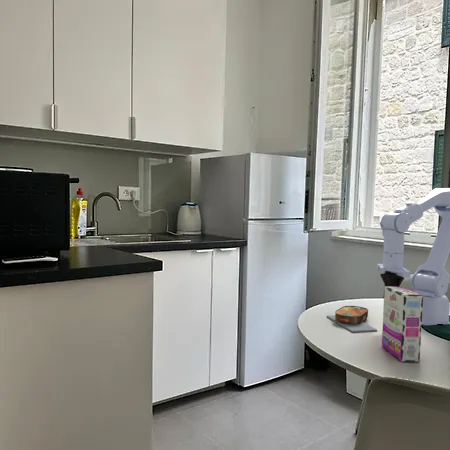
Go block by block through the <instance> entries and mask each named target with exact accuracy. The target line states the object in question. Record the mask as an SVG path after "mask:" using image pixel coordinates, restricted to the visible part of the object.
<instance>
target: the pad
mask: <svg viewBox="0 0 450 450" xmlns="http://www.w3.org/2000/svg"><path fill="white" fill-rule="evenodd" d="M326 318H327V319H329V320H331V321H332V322H334V323H335V324H337V325H339V326H341V327H342V328H344V329H345V330H348V331H349V332H350V333H356V334H357V333H370V332H371V333H372V332H378V329H377V328H375V327H374V326H372V325H370V324H368V323H366V322H364V321H362V322H361V323H359V324H349V323H344V322H338V321H337V320H336V319H335V314H331V315H329V314H327V315H326Z"/></svg>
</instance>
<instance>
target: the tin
mask: <svg viewBox="0 0 450 450" xmlns="http://www.w3.org/2000/svg"><path fill="white" fill-rule="evenodd" d="M334 313H335V314H334V315H335V319H336V320H337V321H338V322H344V323H349V324H359V323H361V322H364V321H365V320H366V319H368V316H369V309H368V308H366V307H364V306H357V305H345V306H344V305H343V306H342V307H340V308H339V309H337V310H335V311H334Z"/></svg>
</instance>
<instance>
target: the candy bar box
mask: <svg viewBox="0 0 450 450" xmlns="http://www.w3.org/2000/svg"><path fill="white" fill-rule="evenodd" d="M383 294H384V296H383V312H382V313H383V314H382V315H383V316H382V333H381V336H382V337H381V348H382V349H384V351H386V352H387V353H389V354H391V355H392V356H393V357H394V358H395V359H397V360H398V361H400V362H401V363H419V362H420V361H421V346H422V345H421V342H422V340H421V339H422V325H423V324H422V309H423V295H421V294H418V293H416V292H415V291H414V290H410V289H408V288H405V287H403V286H399V287H396V286H388V287H385V286H384V293H383Z"/></svg>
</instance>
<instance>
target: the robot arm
mask: <svg viewBox="0 0 450 450" xmlns="http://www.w3.org/2000/svg"><path fill="white" fill-rule="evenodd" d="M404 204H405V205H403V206H401V207H400V208H396V209H395V211H393V212H388V213H387V212H386V213H385V214H384V215H383V216H382V217H381V219H380V222H379V227H380V228H381V233H382V237H383V252H382V263H376V265H375V267H376V268H375V269H376V271H381V272H383V273H380V278H381V279H382V281H383V284H384V288H385V287H388V286H396V287H401V284H402V283H403V281H404V280H405V279H410V286H411V287H412V289H413V291H414V292H416V293H418V294H421V295H423V309H422V325H423V326H438V325H437V324H443V325H450V300H449V298H448V297H447V295H446V293H447V291H448V289H449V280H450V274H449V272H448V271H447V270H446V269H445V266H446V265H447V260H448V258H449V256H450V187H443V188H441V187H435V188H434V189H432V190H430V191H429V194H427V195H426V196H424V197H423V198H422V199H419V201H417V202H414V201H407V202H405V203H404ZM432 208H434V210H435V212H436V213H437V215H438V216H440V218H441V223H440V225H439V227H438V231H437V233H436V235H435V238H434V242H433V243H432V247H431V249H430V252H429V254H428V257H427V260H426V262H425V263H423V264H421V265H419V266H418V267H417V269H416V271H415V272H414V273H413V275H412V277H411V270H409V269H407V268H405V267H404V255H405V253H404V251H405V250H404V249H405V233H406V232H407V231H408V230H409V228H410V226H411V225H412V224H414V223H415V222H417V221H418V220H421V218H422V217H423V216H424V213H425V212H426V211H428V210H430V209H432Z"/></svg>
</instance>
